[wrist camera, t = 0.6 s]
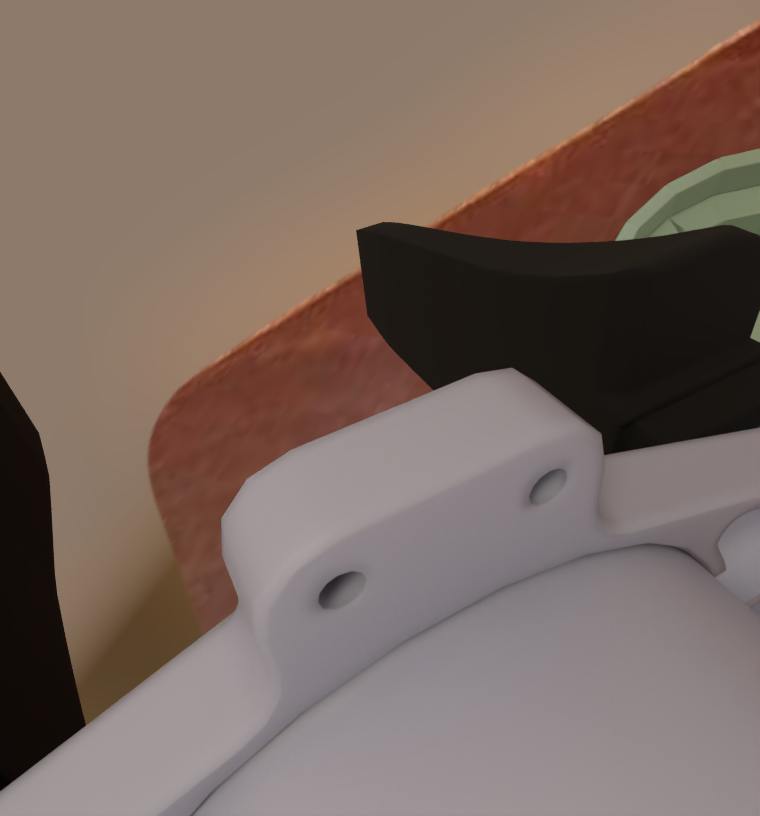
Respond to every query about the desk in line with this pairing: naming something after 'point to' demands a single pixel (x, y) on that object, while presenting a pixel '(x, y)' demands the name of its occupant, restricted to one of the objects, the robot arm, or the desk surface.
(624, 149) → the desk surface
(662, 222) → the bowl
